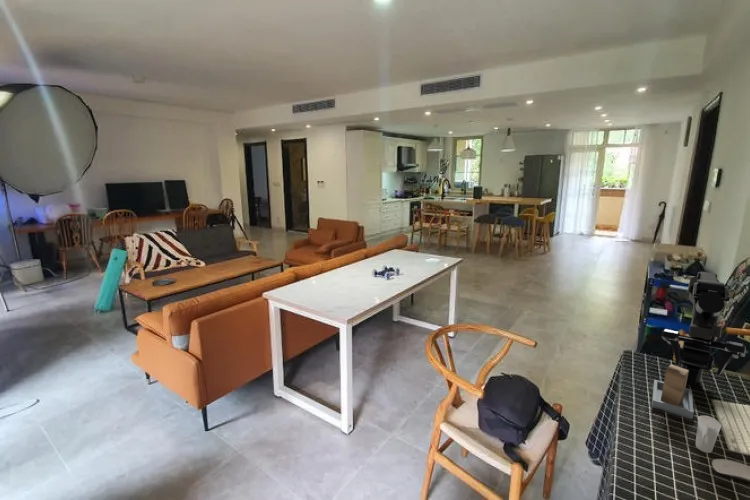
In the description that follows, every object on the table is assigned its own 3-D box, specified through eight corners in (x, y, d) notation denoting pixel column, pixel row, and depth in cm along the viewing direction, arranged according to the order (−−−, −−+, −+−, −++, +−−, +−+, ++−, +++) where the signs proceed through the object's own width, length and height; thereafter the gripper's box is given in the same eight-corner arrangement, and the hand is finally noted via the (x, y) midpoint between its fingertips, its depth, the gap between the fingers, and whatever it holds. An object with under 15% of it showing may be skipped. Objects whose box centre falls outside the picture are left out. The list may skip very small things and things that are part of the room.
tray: (653, 386, 124) (654, 379, 123) (690, 396, 118) (691, 389, 118) (651, 407, 113) (653, 400, 113) (692, 419, 108) (693, 412, 107)
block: (665, 394, 118) (670, 364, 116) (682, 401, 115) (688, 370, 112) (660, 400, 116) (666, 369, 113) (678, 407, 112) (684, 375, 110)
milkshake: (723, 456, 94) (731, 423, 92) (699, 453, 95) (706, 420, 93) (711, 443, 98) (718, 411, 96) (688, 441, 99) (695, 409, 97)
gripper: (662, 307, 114) (654, 356, 111) (747, 320, 100) (740, 376, 97) (668, 316, 121) (660, 362, 118) (748, 329, 107) (741, 382, 104)
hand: (697, 370), depth 109 cm, fingers open, 9 cm apart
